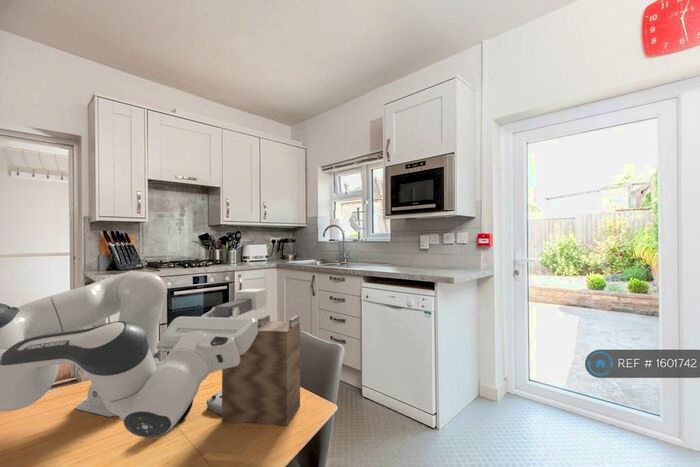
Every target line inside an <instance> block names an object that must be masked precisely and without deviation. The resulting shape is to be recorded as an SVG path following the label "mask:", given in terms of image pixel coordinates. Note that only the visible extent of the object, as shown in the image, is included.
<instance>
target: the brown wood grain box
mask: <svg viewBox="0 0 700 467" xmlns="http://www.w3.org/2000/svg"><path fill="white" fill-rule="evenodd" d="M255 321H256V323H257V327H258V334H257V336H256V338H255V340H254V341H253V343H252V345H251V346H250V348H249V349H248V350H247V351H246V352H245V353H244V354H242V355H240V363H239V364H238V365H237V366H235V367H231V368H226V369H222V370H221V375H222V376H221V390H222V415H221V422H224V423H238V424H252V425H265V426H279V427H288V425H289V424H290V423H291V421H292V419H293V418H294V416H295V415H296V414H297V412H298V410H299V408H300V407H301V344H300V343H301V341H300V340H301V334H300V333H301V331H300V330H301V323H300V315H298V314H297V315H294V316H293V317H291V318H290V319H289V320H288V321H276V320H274V321H271V316H270V314H266V315H263V316H261V317H259V318H258V319H257V320H255Z"/></svg>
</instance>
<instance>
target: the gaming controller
mask: <svg viewBox="0 0 700 467" xmlns="http://www.w3.org/2000/svg"><path fill="white" fill-rule="evenodd" d="M206 405H207V406H206V410H207V411H209V412H210V411H213V412H215V413H217V414H219V415H221V416H222V389H221V390H219V391H218V392H216V393H215V394H214V395H212V396H210V397H209V398H207V400H206Z"/></svg>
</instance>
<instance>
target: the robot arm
mask: <svg viewBox="0 0 700 467" xmlns="http://www.w3.org/2000/svg"><path fill="white" fill-rule="evenodd" d="M167 295H168V288H167V284H166V282H165V281H164V279H162V278H161V277H160V276H159V275H157V274H155V273H153V272H147V271H140V270H139V271H138V270H130V271H126V272H123V273H120V274H116V275H113V276H111V277H107V278H105V279H102V280H98V281H96V282H93V283H90V284H88V285H84V286H81V287H76V288H73V289H71V290H65V291H63V292H59V293H56V294H52V295H50V296H45V297H41V298H38V299H36V300H33V301H29V302H28V303H25V304H22V305H20V306H17V307H16V306H14V307H13V306H10V305H8V304H5V303H1V302H0V412H12V411H18V410H21V409H24V408H28V407H29V406H31V405H32V404H35V403H36V402H37V401H39V400H40V399H41V398H43V396H45V394H46V393H48V391H49V390H50V389H51V388H52V386H53V384H54V382H55V381H56V378H57V376H58V372H59V365H67V364H73V365H75V366H77V367H79V369H81V370H82V372H84V373H85V375H86V376H87V378H88V379H89V381H90V382H91V383H90V385H89V387H88V389H87V396H86V397H85V398H84V399H82V400H81V401H79V402H78V404H76V408H75V409H76V410H79V411H82V412H83V411H84V412H87V413H92V414H95V415H100V416H104V417H120V419H121V420H122V422H123V426H124V427H125V429H126V430H127V431H128V432H129V433H131V434H133V435H134V436H137V437H141V438H149V439H151V438H157V437H161V436H163V435H165V434H166V433H168V432H169V431H170V430H171V429H172V428H174V426H176V425H177V424H178V423H177V422H178V420H179V419H180V418H181V417H182V415H183V414H184V413H185V411H186V410H187V408H188V407H189V405H190V404H191V402H192V401H193V402H194V399H195V397H196V396H197V394H198V392H199V388H200V386H201V384H202V382H203V381H205V379H206V378H207V377H208V376H209V374H212V373H215V372H218V371H222V369H226V368H231V367H235V366H237V365H238V364H239V363H240V355H242V354H244V353H245V352H246V351H247V350H248V349H249V348H250V346H251V345H252V343H253V341H254V340H255V338H256V336H257V334H258V327H257V323H256V321H257V320H256V319H255V318H253V317H239V316H240V315H239V313H240V311H239V308H238V307H232V309H231V310H230V311H229V312H230V314H231V316H230V317H229V318H222V317H215V306H213V307H212V308H211V309H210V310H209V311H208V312H206V313H204V314H202V315H201V316H182V315H181V316H178V317H175V318H174V319H173V320H172V321H171V322H170V324H168V326H167V328H166V329H165V331H164V333H163V334H162V338H160V336H159V333H160V331H159V330H160V320H161V316H162V312H163V307H164V301H165V299H166V297H167ZM118 313H119V316H118V320H116V321H111V322H107V323H104V324H101V325H97V324H99V323H101V322H102V321H104V320H105V319H108V318H110V317H112V316H115V315H116V314H118ZM93 325H97V326H94V327H91V326H93ZM88 327H89V328H88ZM159 338H160V339H159ZM161 353H168V354H167V355H166V357H165V359H164V360H161ZM176 423H177V424H176Z"/></svg>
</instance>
